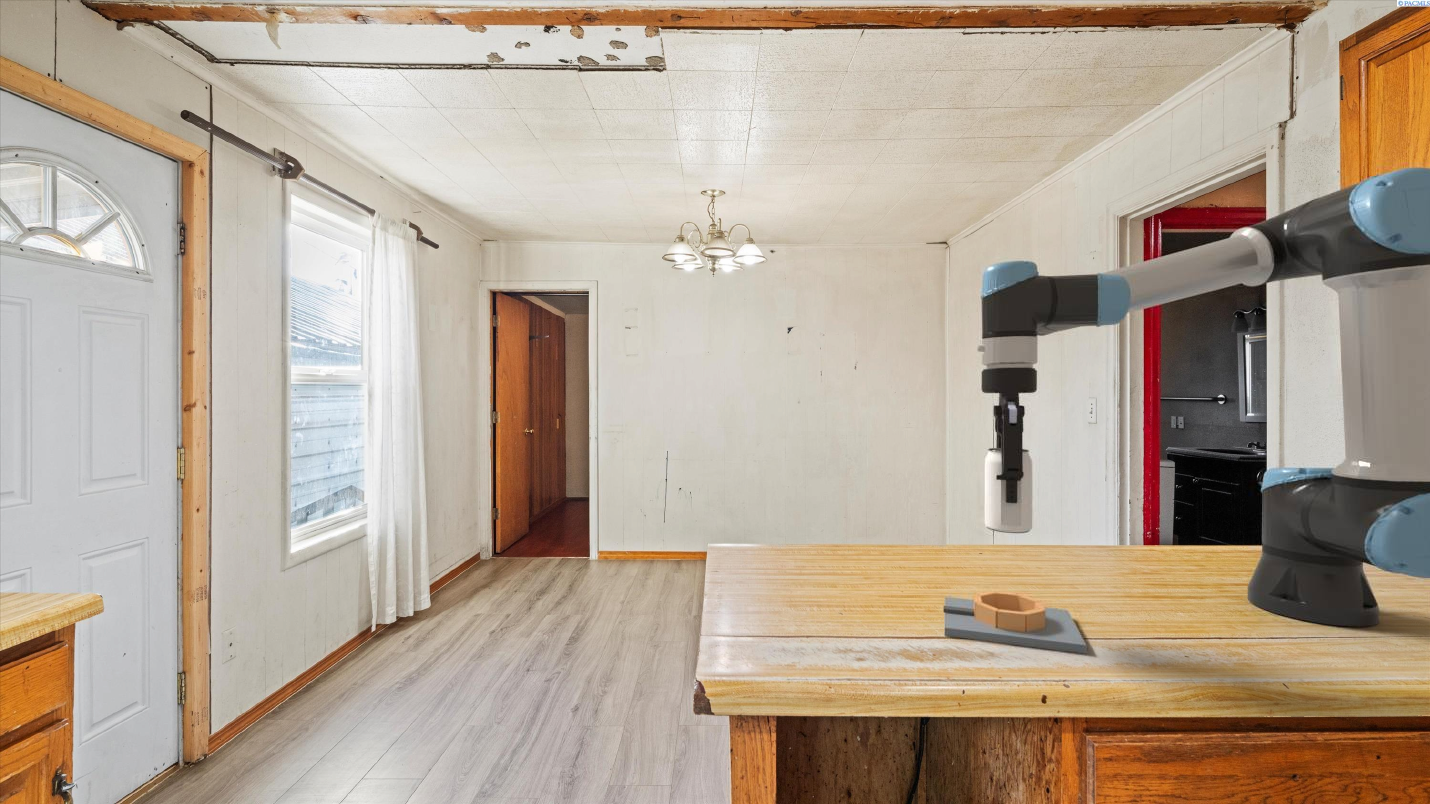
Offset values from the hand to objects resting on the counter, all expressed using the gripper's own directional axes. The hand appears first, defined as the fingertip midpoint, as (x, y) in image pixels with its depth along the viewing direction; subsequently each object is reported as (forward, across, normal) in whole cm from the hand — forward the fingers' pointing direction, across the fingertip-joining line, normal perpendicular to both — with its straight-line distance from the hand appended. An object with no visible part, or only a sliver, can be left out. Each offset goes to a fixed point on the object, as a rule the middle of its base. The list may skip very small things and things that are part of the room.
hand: (1008, 519), depth 92 cm
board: (+16, 0, 0) cm, 16 cm away
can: (+2, 0, 0) cm, 2 cm away
